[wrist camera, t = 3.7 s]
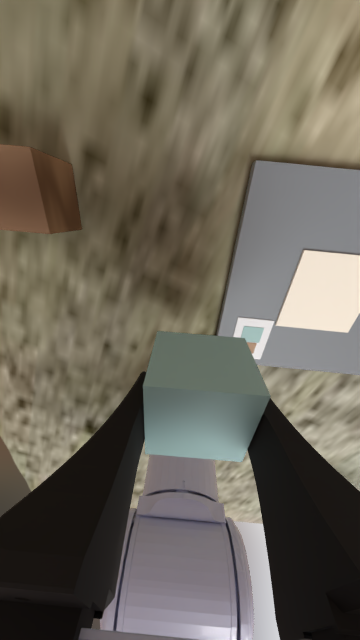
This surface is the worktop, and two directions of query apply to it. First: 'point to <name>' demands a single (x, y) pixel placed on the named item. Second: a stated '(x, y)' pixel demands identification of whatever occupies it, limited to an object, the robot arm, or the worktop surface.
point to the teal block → (202, 397)
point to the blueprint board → (297, 269)
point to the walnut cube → (36, 192)
